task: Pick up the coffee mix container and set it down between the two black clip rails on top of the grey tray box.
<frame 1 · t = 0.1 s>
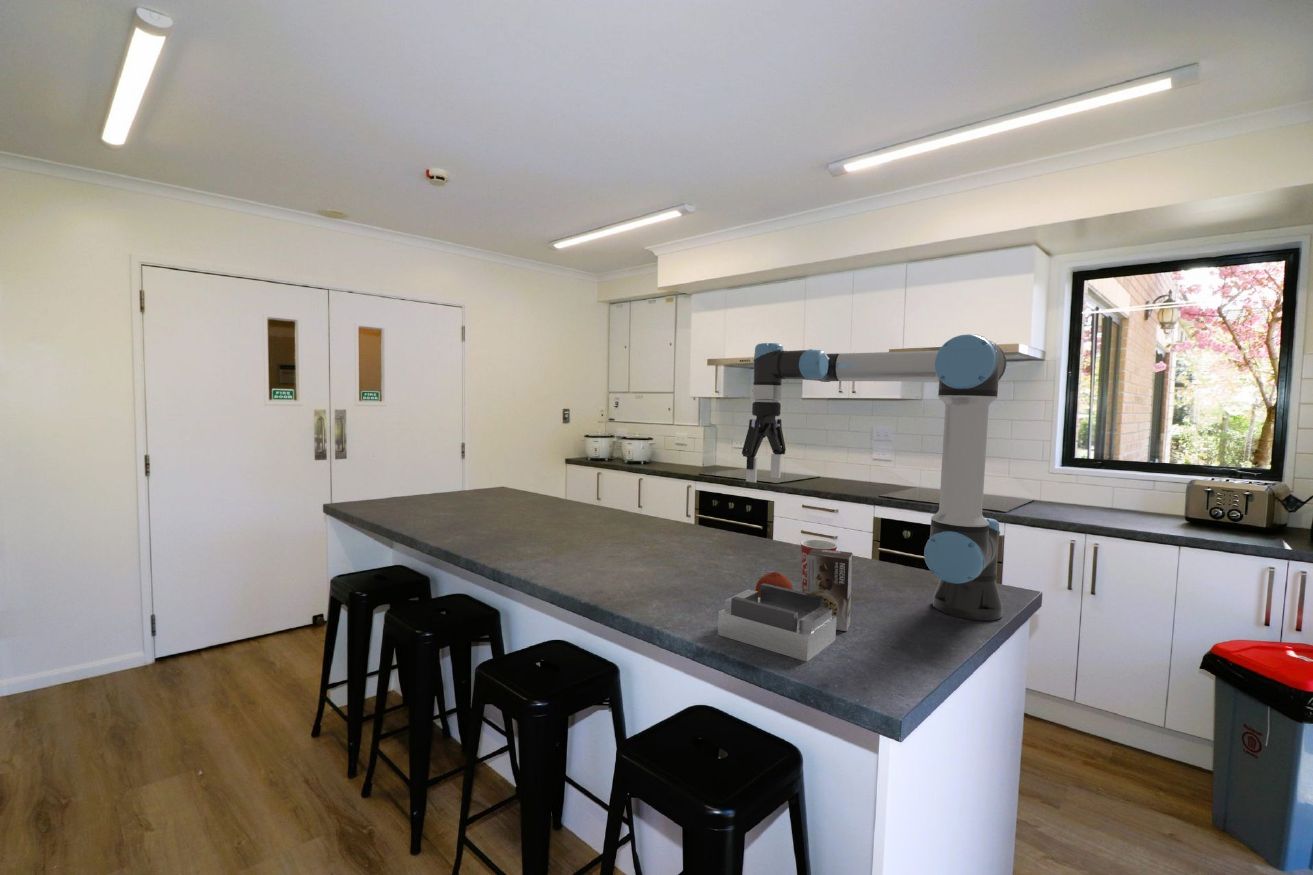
hand: (763, 479, 166), 28 cm above the countertop, fingers open, 13 cm apart
mug: (819, 594, 158), on the countertop
coffee box: (827, 624, 137), on the countertop
fruit: (773, 605, 148), on the countertop
grey tray box: (776, 637, 128), on the countertop
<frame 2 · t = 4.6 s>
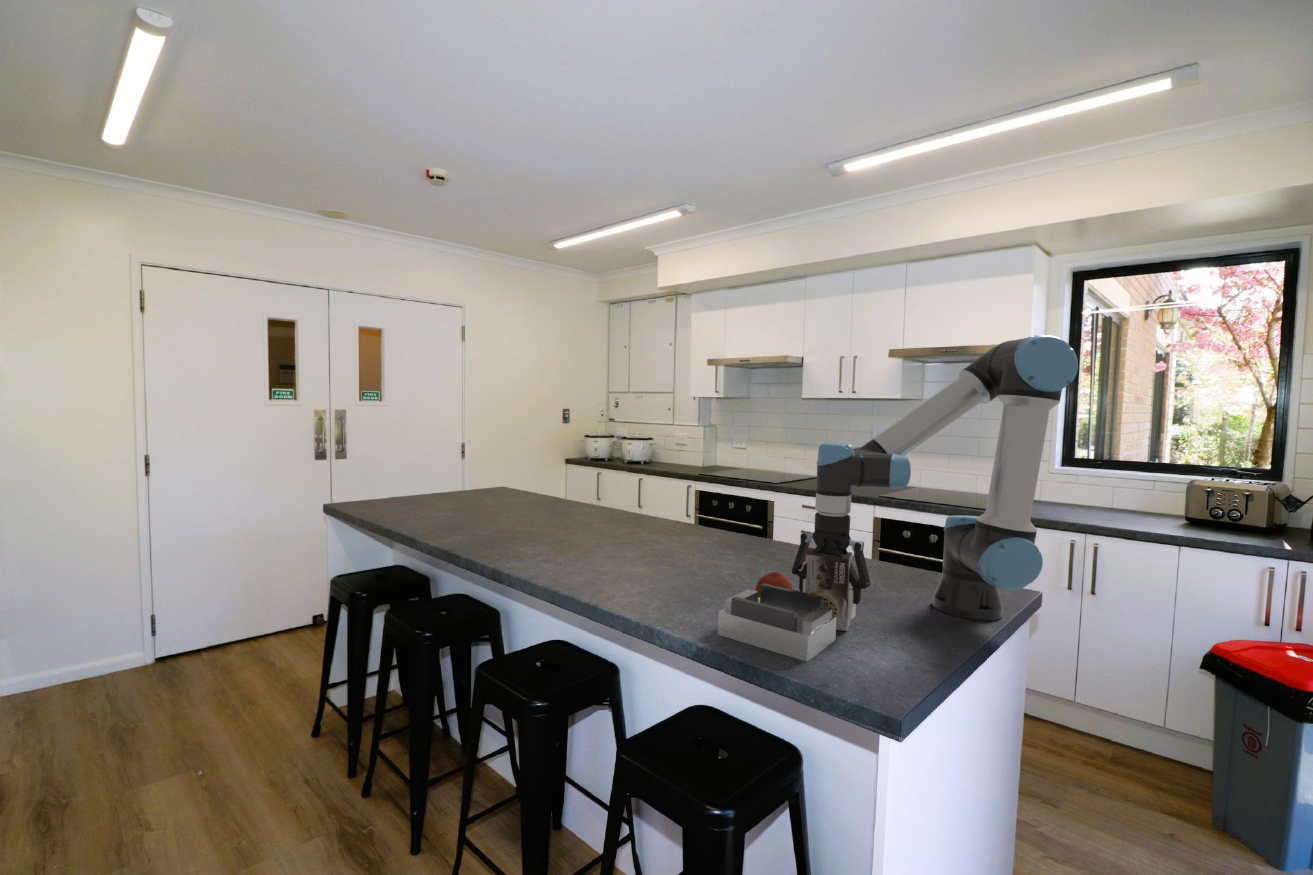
hand: (828, 611, 137), 3 cm above the countertop, fingers closed on coffee box, 10 cm apart
coffee box: (827, 624, 137), on the countertop, touching gripper
everything else where it was.
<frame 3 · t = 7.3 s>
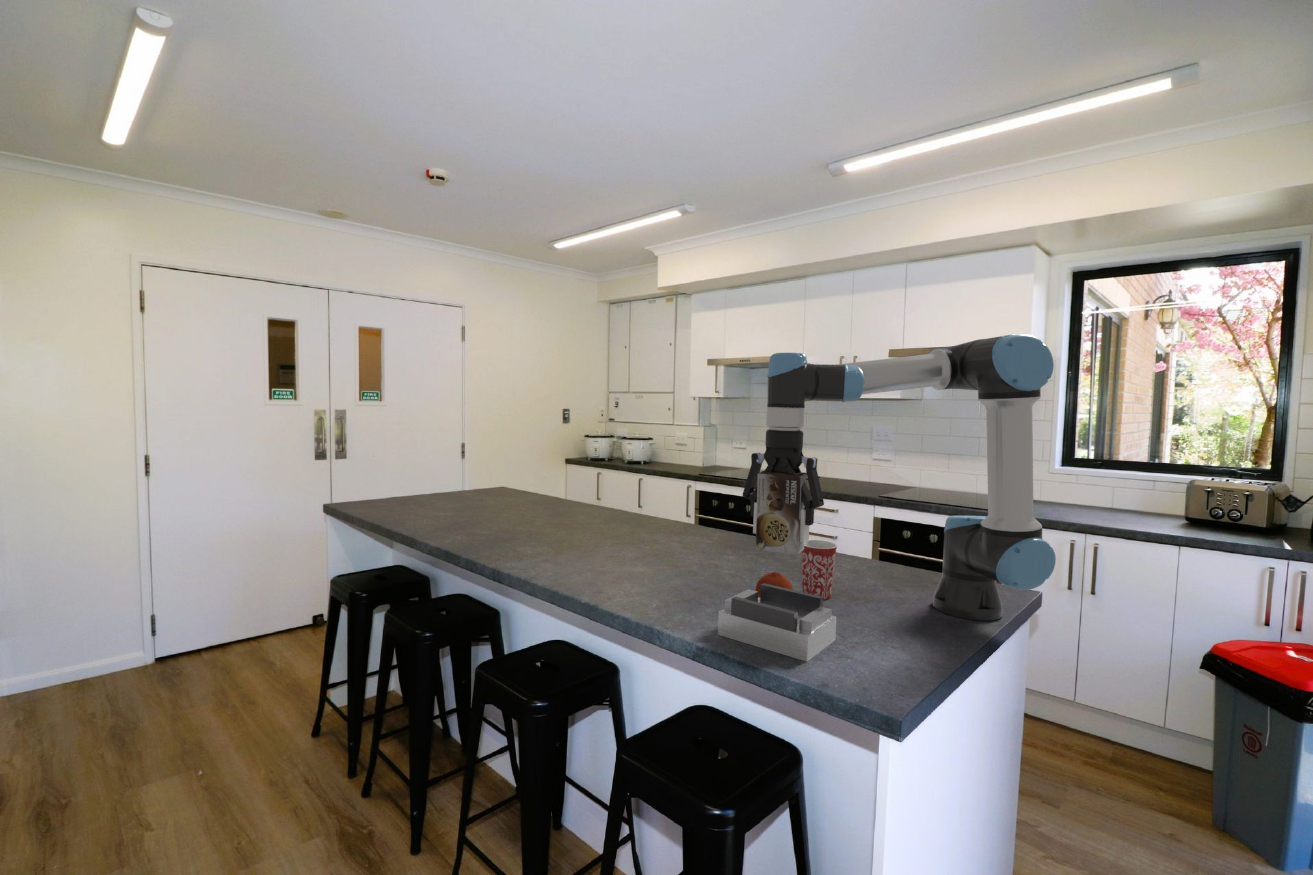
hand: (780, 536, 127), 21 cm above the countertop, fingers closed on coffee box, 10 cm apart
coffee box: (779, 550, 127), point 18 cm above the countertop, touching gripper
everything else where it was.
when the fingers open (10 cm above the countertop, at t = 10.3 s): coffee box drops 2 cm, resting on grey tray box.
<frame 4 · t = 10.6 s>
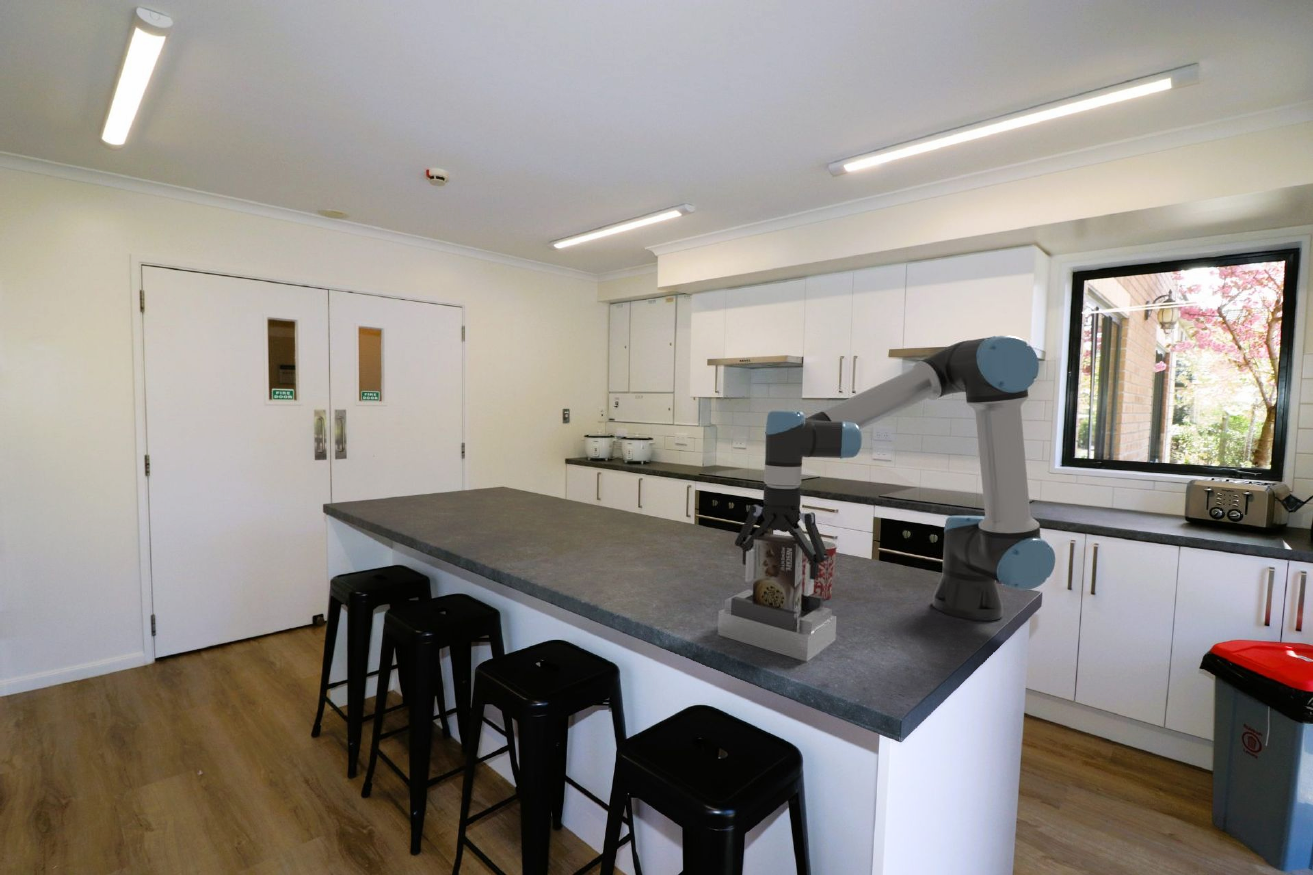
hand: (778, 587, 127), 11 cm above the countertop, fingers open, 13 cm apart
coffee box: (776, 614, 128), point 5 cm above the countertop, touching grey tray box
everything else where it was.
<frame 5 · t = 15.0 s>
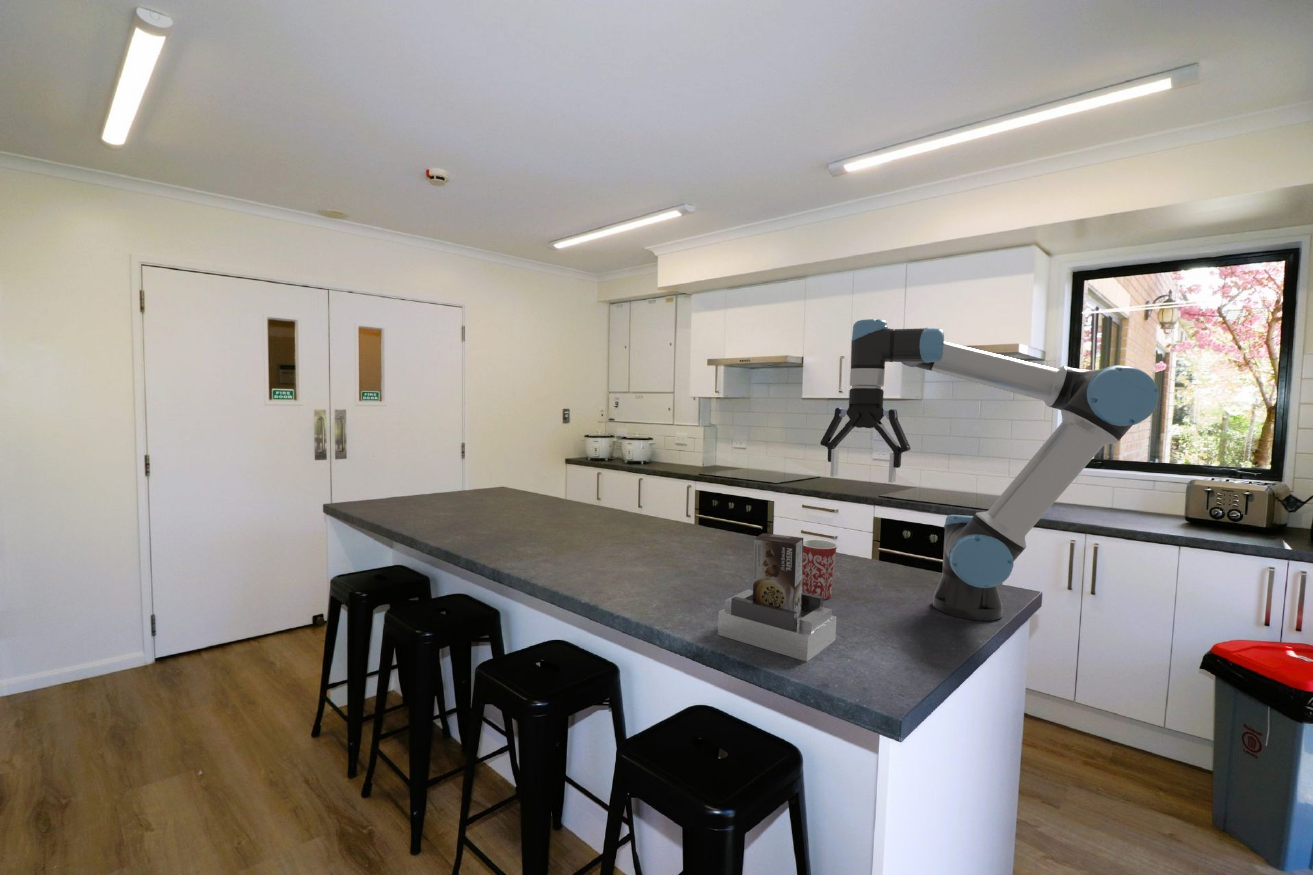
hand: (862, 479, 143), 32 cm above the countertop, fingers open, 13 cm apart
nothing on the countertop moved.
at the end: coffee box inside the target area on the grey tray box (0.2 cm from its centre), point 4.8 cm above the grey tray box's base; coffee box tilted 0°; the gripper is holding nothing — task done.
